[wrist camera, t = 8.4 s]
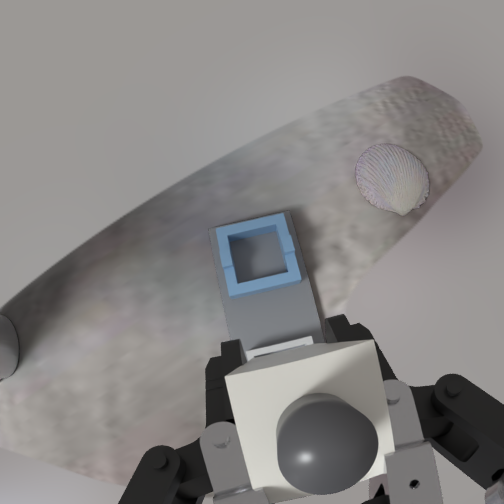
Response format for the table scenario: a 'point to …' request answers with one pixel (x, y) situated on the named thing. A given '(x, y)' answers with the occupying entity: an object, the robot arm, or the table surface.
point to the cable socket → (265, 285)
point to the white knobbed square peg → (312, 418)
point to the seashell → (392, 178)
